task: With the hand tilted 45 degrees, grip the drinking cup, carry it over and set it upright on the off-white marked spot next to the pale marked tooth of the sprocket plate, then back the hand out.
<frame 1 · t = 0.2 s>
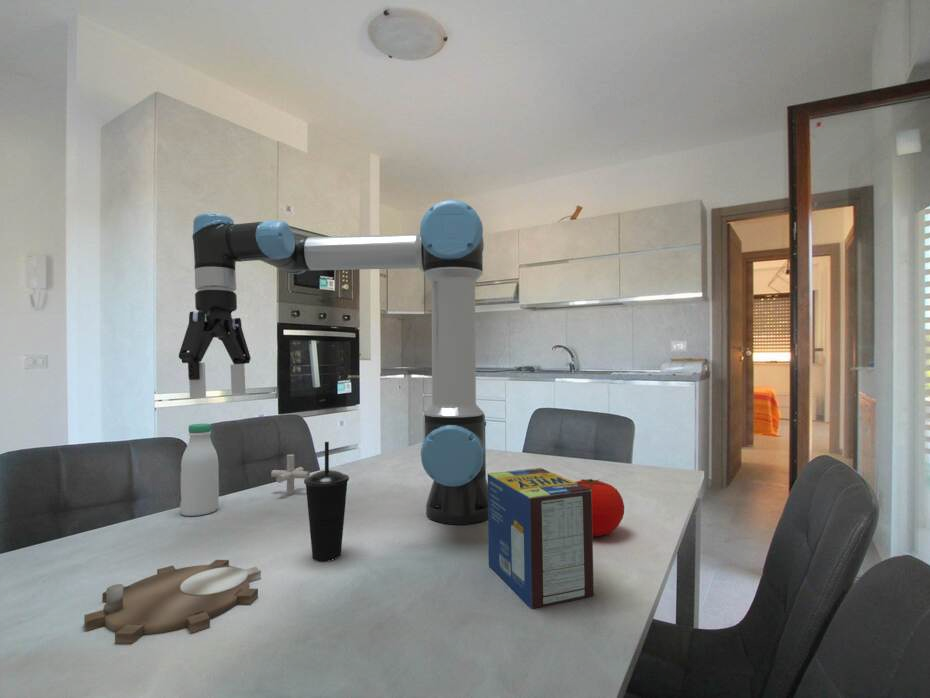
hand: (219, 396, 97), 27 cm above the table, tool pointing down, fingers open, 13 cm apart
sprocket plate: (180, 599, 70), on the table
protein box: (537, 581, 75), on the table
milk bottle: (199, 512, 111), on the table
tomato: (593, 533, 95), on the table
pipe connector: (290, 494, 125), on the table
drinking cup: (326, 557, 85), on the table
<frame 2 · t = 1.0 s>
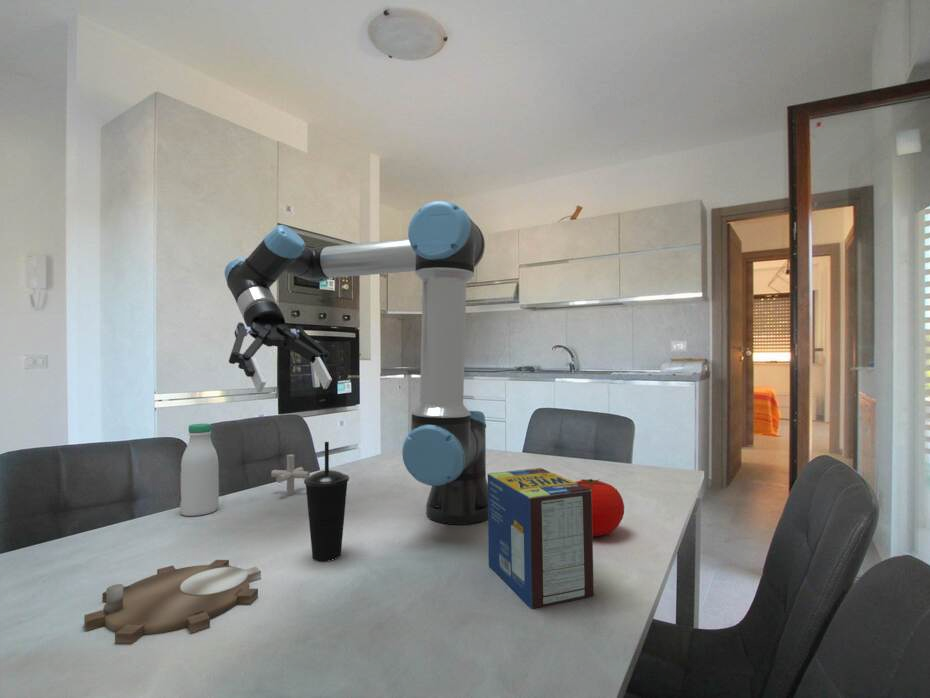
hand: (296, 385, 93), 30 cm above the table, tool tilted 45°, fingers open, 13 cm apart
nothing on the table moved.
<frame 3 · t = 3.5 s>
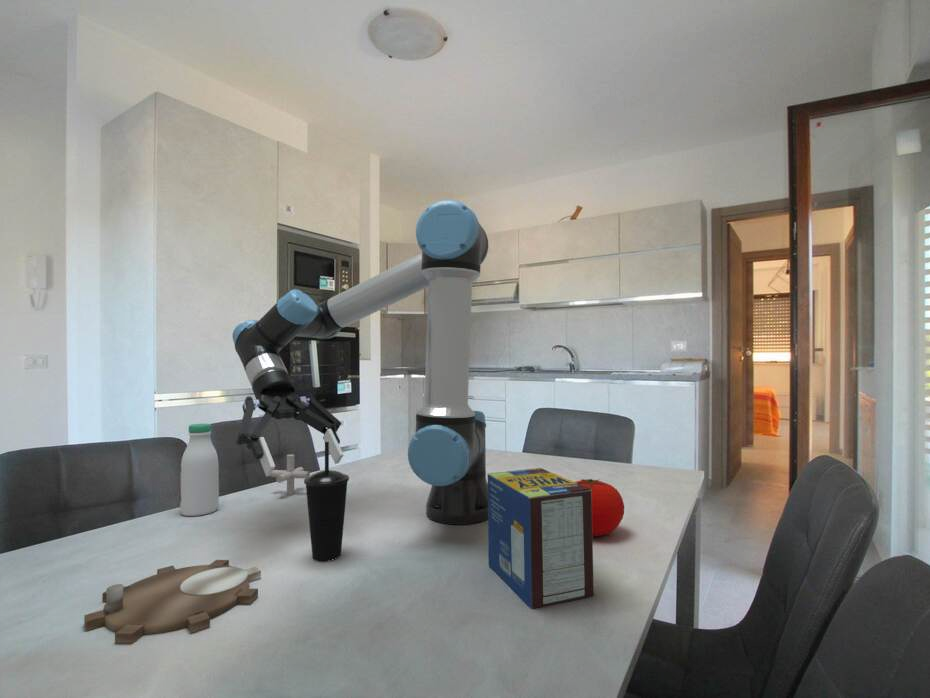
hand: (307, 465, 89), 15 cm above the table, tool tilted 45°, fingers open, 13 cm apart
nothing on the table moved.
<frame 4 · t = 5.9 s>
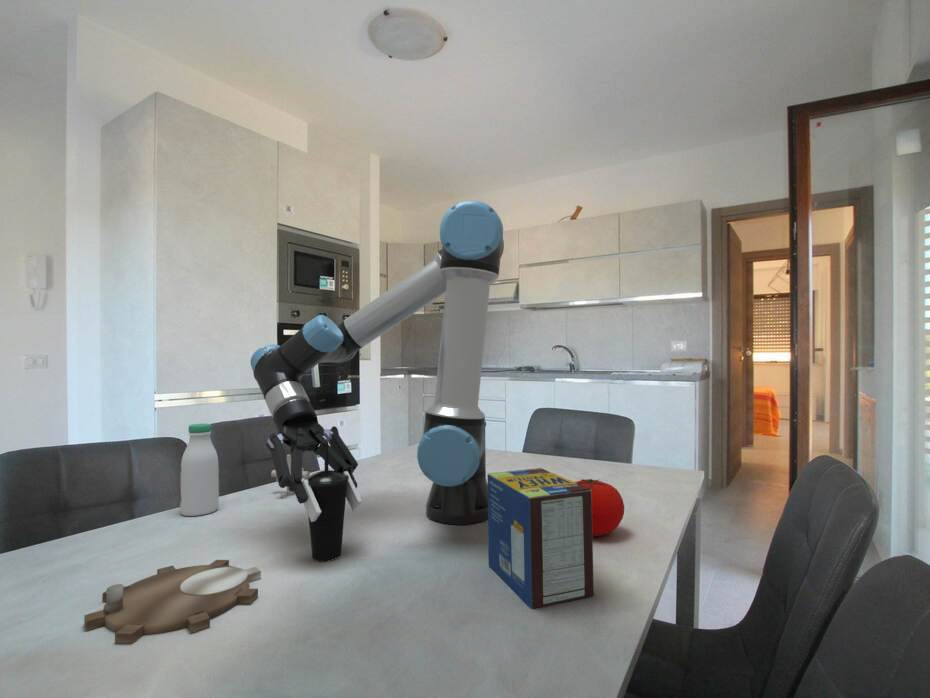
hand: (337, 511, 83), 9 cm above the table, tool tilted 45°, fingers closed on drinking cup, 7 cm apart
drinking cup: (326, 557, 85), on the table, touching gripper
everything else where it was.
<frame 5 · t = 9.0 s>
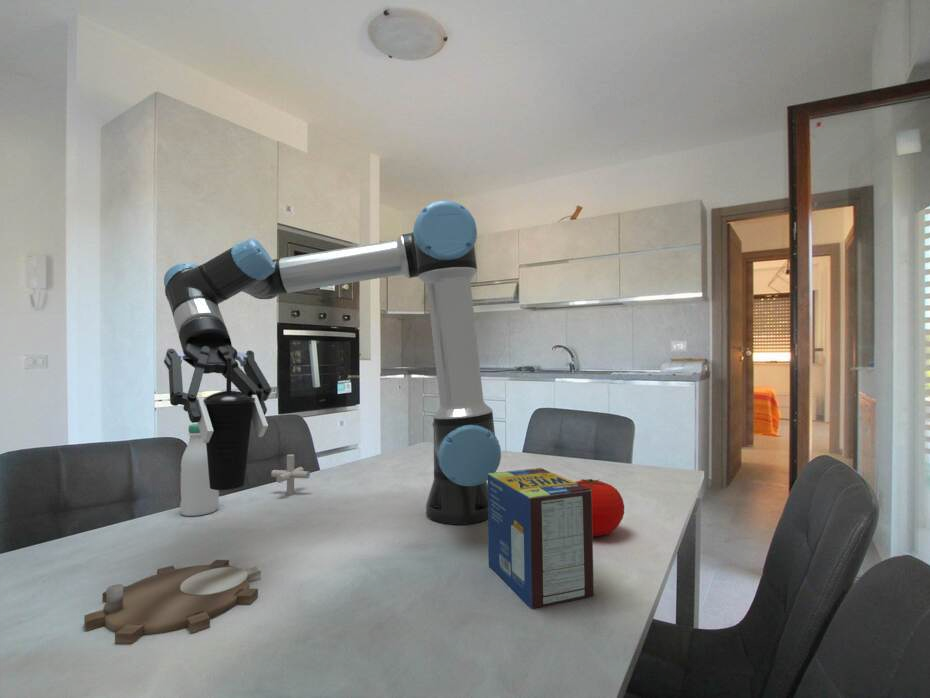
hand: (236, 433, 73), 23 cm above the table, tool tilted 45°, fingers closed on drinking cup, 7 cm apart
drinking cup: (227, 487, 75), point 15 cm above the table, touching gripper
everything else where it was.
when the fingers open (11 cm above the table, at t = 12.3 s): drinking cup drops 1 cm, resting on sprocket plate.
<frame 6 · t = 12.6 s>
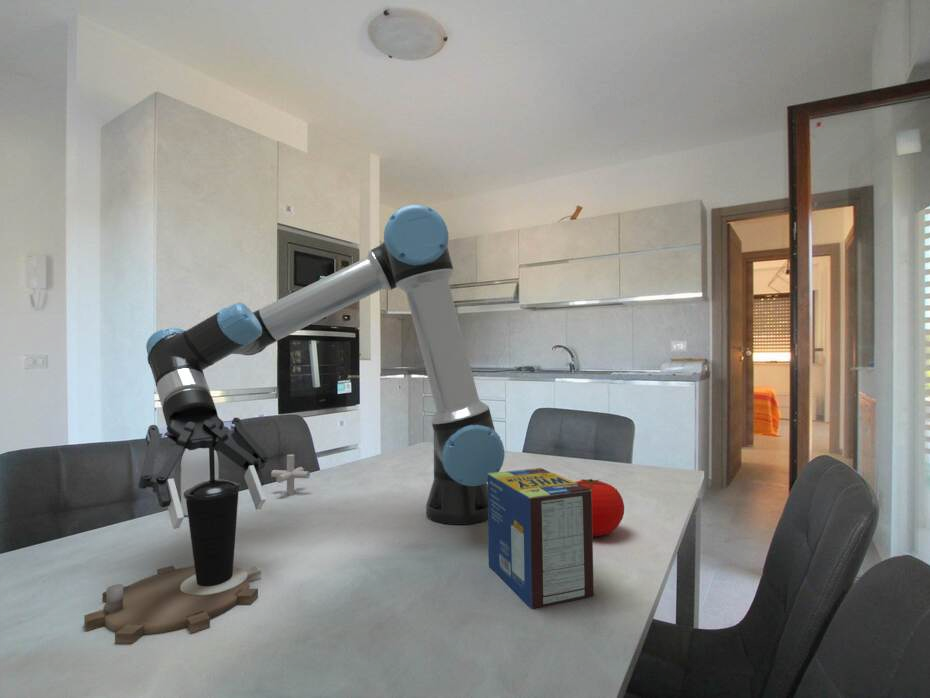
hand: (222, 513, 71), 12 cm above the table, tool tilted 45°, fingers open, 11 cm apart
drinking cup: (215, 579, 73), point 1 cm above the table, touching sprocket plate
everything else where it was.
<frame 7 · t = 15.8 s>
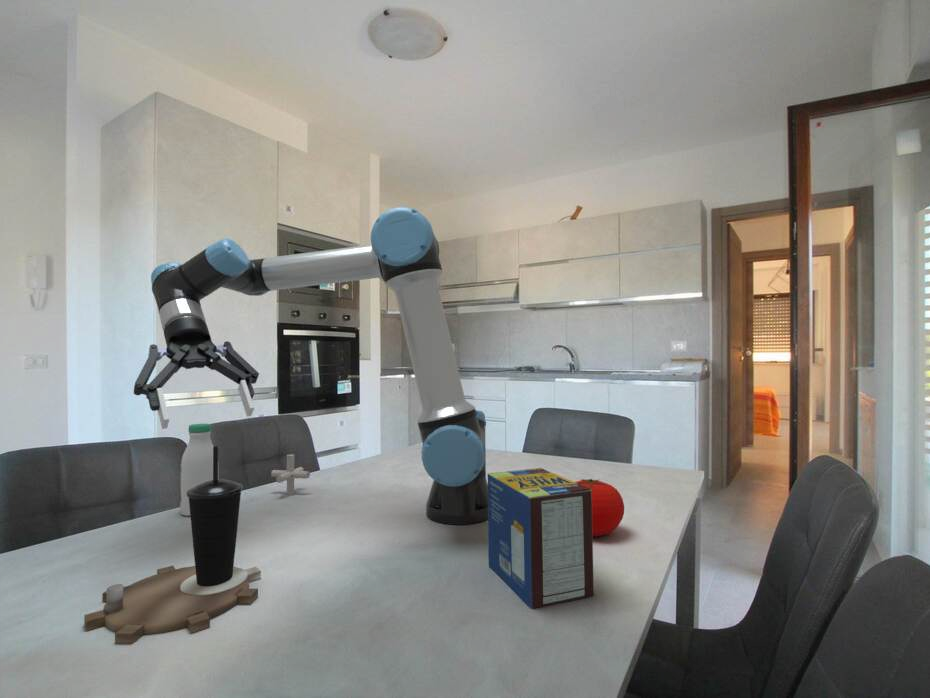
hand: (210, 418, 85), 24 cm above the table, tool tilted 40°, fingers open, 13 cm apart
nothing on the table moved.
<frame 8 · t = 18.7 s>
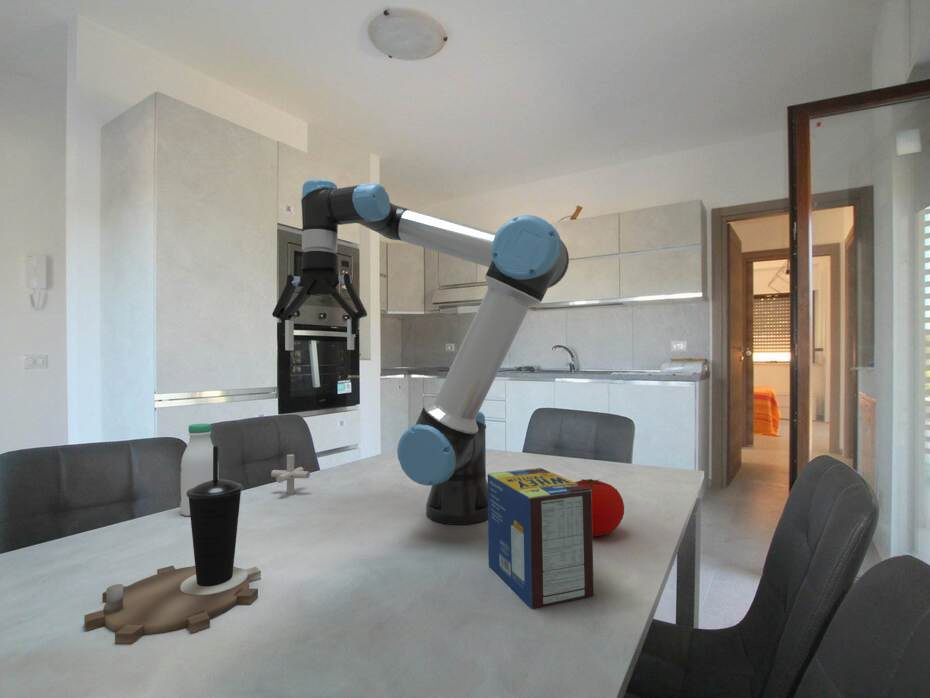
hand: (320, 350, 105), 37 cm above the table, tool pointing down, fingers open, 13 cm apart
nothing on the table moved.
at the end: drinking cup 0.2 cm from the target spot on the sprocket plate, point 1.2 cm above the sprocket plate's base; drinking cup tilted 0°; the gripper is holding nothing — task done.
